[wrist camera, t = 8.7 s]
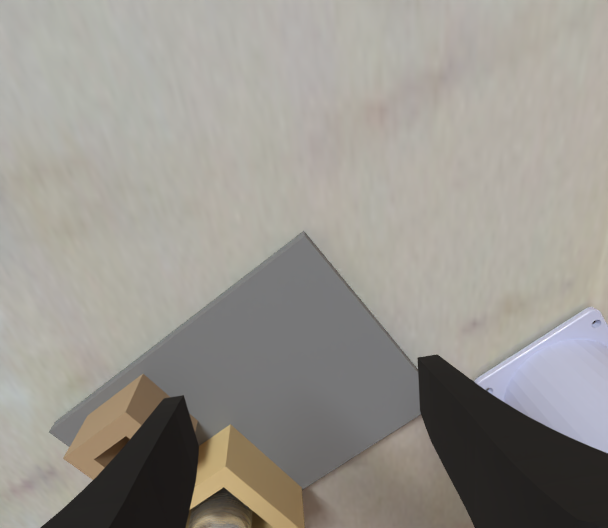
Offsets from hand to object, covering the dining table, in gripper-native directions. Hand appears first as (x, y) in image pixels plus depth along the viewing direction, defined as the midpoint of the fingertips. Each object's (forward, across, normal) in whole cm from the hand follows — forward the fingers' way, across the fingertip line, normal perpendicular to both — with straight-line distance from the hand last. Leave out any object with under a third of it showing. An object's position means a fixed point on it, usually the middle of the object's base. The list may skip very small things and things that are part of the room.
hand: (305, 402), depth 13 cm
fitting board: (+10, +4, +8) cm, 13 cm away
